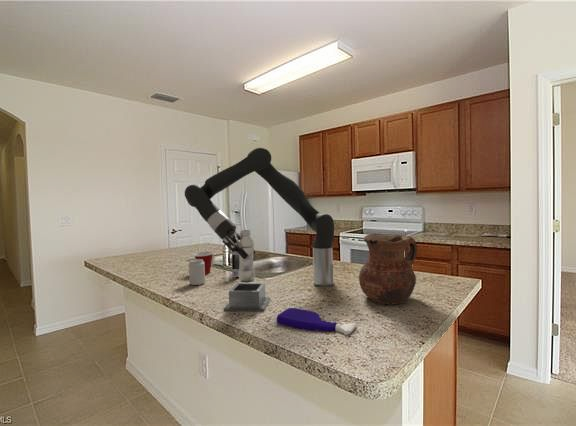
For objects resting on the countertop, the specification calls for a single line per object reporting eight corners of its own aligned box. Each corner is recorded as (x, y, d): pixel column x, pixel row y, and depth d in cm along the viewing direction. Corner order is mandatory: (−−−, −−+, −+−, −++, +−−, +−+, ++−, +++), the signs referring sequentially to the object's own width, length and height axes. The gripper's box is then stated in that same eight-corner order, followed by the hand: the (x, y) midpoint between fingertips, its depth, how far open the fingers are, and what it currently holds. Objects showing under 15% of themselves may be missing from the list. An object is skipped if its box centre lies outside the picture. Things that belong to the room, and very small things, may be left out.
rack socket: (270, 299, 123) (269, 282, 122) (263, 311, 110) (263, 292, 109) (234, 299, 124) (233, 282, 124) (224, 310, 112) (223, 292, 111)
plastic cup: (190, 274, 169) (189, 253, 169) (204, 270, 179) (203, 250, 178) (204, 276, 164) (203, 254, 163) (218, 272, 173) (217, 251, 172)
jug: (386, 312, 105) (385, 241, 104) (347, 296, 124) (346, 235, 123) (429, 301, 116) (428, 236, 114) (387, 287, 134) (386, 231, 133)
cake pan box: (239, 278, 158) (238, 245, 157) (230, 278, 159) (229, 245, 158) (251, 270, 176) (250, 240, 176) (243, 270, 177) (242, 240, 177)
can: (208, 282, 152) (207, 258, 151) (198, 286, 145) (197, 261, 144) (196, 281, 155) (195, 258, 154) (186, 285, 148) (185, 261, 147)
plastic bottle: (258, 280, 119) (256, 229, 118) (250, 285, 113) (249, 231, 112) (243, 279, 121) (242, 229, 120) (235, 283, 115) (233, 231, 114)
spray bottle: (273, 316, 98) (347, 332, 86) (289, 305, 107) (358, 318, 96) (274, 325, 98) (347, 342, 86) (290, 314, 108) (358, 327, 96)
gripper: (218, 219, 111) (248, 252, 108) (235, 217, 125) (263, 246, 122) (206, 233, 113) (235, 266, 110) (224, 229, 127) (251, 258, 124)
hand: (250, 255), depth 116 cm, fingers closed on plastic bottle, 6 cm apart
